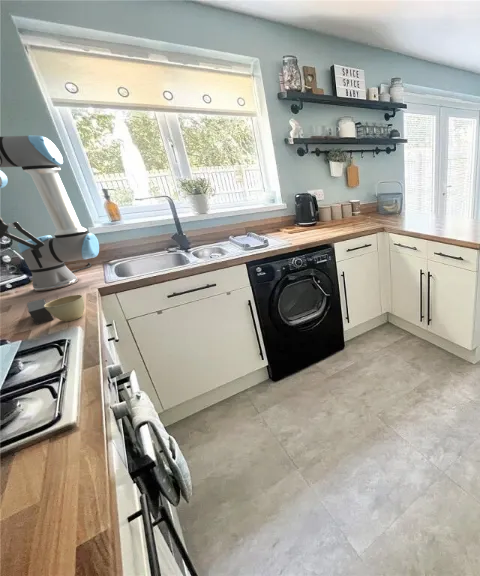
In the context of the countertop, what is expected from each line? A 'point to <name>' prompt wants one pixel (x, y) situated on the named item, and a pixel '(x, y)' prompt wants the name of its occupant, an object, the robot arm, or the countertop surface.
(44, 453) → the countertop surface
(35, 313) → the bar
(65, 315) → the olive yellow bowl
